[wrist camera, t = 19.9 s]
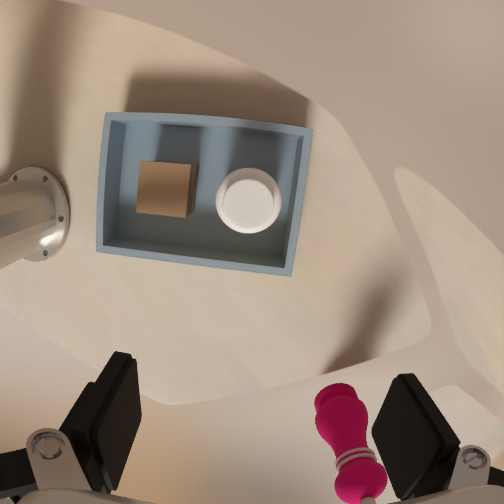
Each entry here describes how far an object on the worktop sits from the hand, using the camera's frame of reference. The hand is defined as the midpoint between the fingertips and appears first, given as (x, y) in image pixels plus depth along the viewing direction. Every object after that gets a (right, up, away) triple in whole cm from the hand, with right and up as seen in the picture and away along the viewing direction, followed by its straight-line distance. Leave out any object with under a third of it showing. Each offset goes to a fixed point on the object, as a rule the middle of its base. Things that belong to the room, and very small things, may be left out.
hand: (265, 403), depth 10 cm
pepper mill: (+12, -16, +32) cm, 38 cm away
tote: (-6, +12, +25) cm, 28 cm away
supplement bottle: (-1, +12, +24) cm, 27 cm away
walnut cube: (-9, +12, +24) cm, 28 cm away
